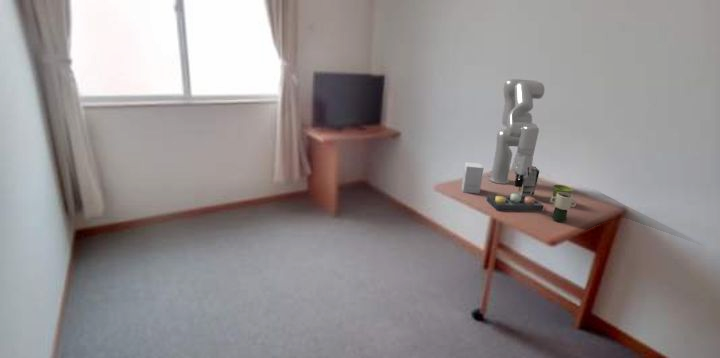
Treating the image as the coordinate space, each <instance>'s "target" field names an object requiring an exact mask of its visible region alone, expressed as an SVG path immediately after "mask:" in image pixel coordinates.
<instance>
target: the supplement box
mask: <svg viewBox="0 0 720 358" xmlns="http://www.w3.org/2000/svg"><path fill="white" fill-rule="evenodd" d="M483 174H484V166H483V165H482V163H477V162H470V161H469V162H467V161H466V162H465V163H464V169H463V176H462V182H461V190H462V192H463V193H471V194H478V195H480V191H481V185H482V179H483Z"/></svg>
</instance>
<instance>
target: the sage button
mask: <svg viewBox="0 0 720 358" xmlns="http://www.w3.org/2000/svg"><path fill="white" fill-rule="evenodd" d="M510 196H511V197H510V201H511V202H512V203H520V201H521V197H522V196H521V195H520V194H519V193H518V192H517V193H516V192H512V193H511V194H510Z"/></svg>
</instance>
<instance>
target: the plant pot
mask: <svg viewBox="0 0 720 358" xmlns="http://www.w3.org/2000/svg"><path fill="white" fill-rule="evenodd" d="M552 190H553V193H552V196H553V197H556V194H557V193H558V192H564V193H568V194H572V193H571V192H572V191H573V188H572V187H571V186H568V185H563V184H553V185H552ZM553 201H555V199H554V198H553Z"/></svg>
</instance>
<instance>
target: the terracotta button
mask: <svg viewBox="0 0 720 358" xmlns="http://www.w3.org/2000/svg"><path fill="white" fill-rule="evenodd" d="M535 200H537V199H536V198H535V197H534V196H533V197H530V196H526V197H525V200H524V201H525V202H527V203H535Z"/></svg>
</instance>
